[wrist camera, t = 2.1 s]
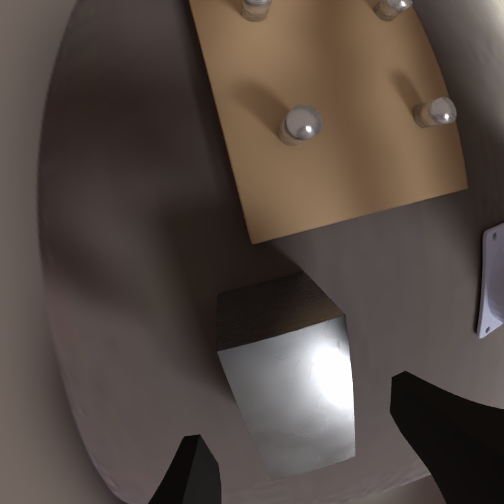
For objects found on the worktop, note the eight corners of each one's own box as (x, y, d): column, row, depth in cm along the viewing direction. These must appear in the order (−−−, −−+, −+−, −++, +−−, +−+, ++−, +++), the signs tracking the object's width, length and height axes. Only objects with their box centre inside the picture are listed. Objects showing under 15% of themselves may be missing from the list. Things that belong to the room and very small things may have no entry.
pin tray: (384, -23, 10) (406, -45, 7) (456, 187, 13) (494, 191, 10) (183, -19, 9) (177, -54, 6) (250, 240, 13) (258, 256, 10)
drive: (302, 269, 13) (345, 314, 8) (325, 395, 15) (355, 455, 10) (217, 293, 13) (217, 351, 8) (258, 414, 15) (271, 481, 10)
